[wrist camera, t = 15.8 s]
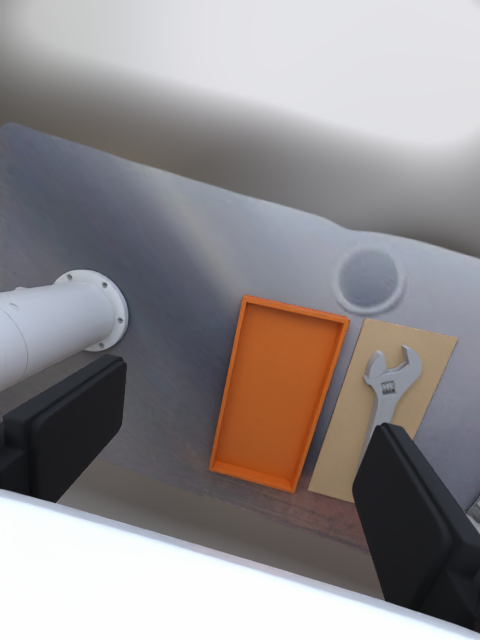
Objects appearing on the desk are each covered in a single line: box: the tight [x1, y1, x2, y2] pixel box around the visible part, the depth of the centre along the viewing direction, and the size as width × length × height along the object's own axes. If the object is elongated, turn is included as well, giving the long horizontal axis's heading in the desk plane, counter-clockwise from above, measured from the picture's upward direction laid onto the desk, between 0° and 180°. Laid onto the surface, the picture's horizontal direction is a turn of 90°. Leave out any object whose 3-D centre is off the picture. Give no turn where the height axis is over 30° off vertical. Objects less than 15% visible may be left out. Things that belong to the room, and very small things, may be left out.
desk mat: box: [307, 318, 458, 503], centre depth 39 cm, size 12×30×1 cm, turn 169°
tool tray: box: [208, 295, 350, 493], centre depth 40 cm, size 14×29×2 cm, turn 169°
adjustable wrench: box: [355, 345, 422, 477], centre depth 38 cm, size 25×6×2 cm, turn 171°
